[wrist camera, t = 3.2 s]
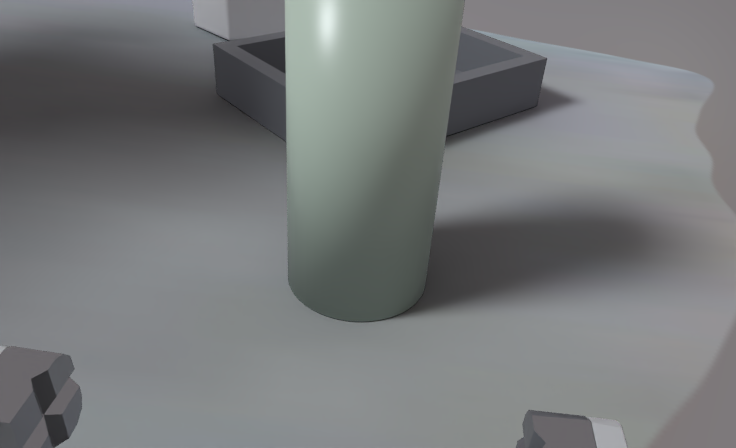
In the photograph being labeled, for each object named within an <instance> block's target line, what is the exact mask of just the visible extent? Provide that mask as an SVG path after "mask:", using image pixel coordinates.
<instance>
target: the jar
mask: <svg viewBox="0 0 736 448" xmlns="http://www.w3.org/2000/svg"><path fill="white" fill-rule="evenodd" d="M192 2H193V13H194V23H195V25H196V26H197V27H199V28H201V29H204V30H206V31H208V32H211V33H213V34H215V35H217V36H220V37H222V38H224V39H226V40H229V41H232V40H237V39H243V38H249V37H255V36H260V35H266V34H272V33H278V32H283V31H285V0H192Z"/></svg>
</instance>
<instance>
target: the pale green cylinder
mask: <svg viewBox="0 0 736 448" xmlns="http://www.w3.org/2000/svg"><path fill="white" fill-rule="evenodd" d="M464 3H465V0H285V61H286V145H287V230H288V281H289V285H290V287H291V290H292V291H293V293H294V295H295V296H296V297H297V298H298V299H299V300H300V301H301V302H302V303H303V304H304V305H306V306H307V307H309V308H310V309H312V310H314V311H316V312H318V313H320V314H322V315H325V316H328V317H331V318H335V319H339V320H345V321H355V322H368V321H377V320H382V319H387V318H390V317H393V316H396V315H398V314H401V313H403V312H404V311H406V310H408V309H409V308H411V307H412V306H413V305H414V304H415V303H416V302H417V301H418V300H419V299H420V297H421V296H422V294H423V292H424V289H425V284H426V277H427V270H428V263H429V255H430V248H431V241H432V234H433V227H434V219H435V212H436V205H437V198H438V191H439V184H440V176H441V169H442V162H443V155H444V148H445V140H446V133H447V126H448V119H449V112H450V105H451V97H452V90H453V83H454V76H455V69H456V61H457V54H458V47H459V40H460V33H461V25H462V18H463V10H464Z"/></svg>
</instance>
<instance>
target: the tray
mask: <svg viewBox="0 0 736 448" xmlns="http://www.w3.org/2000/svg"><path fill="white" fill-rule="evenodd" d="M213 51H214V64H215V77H216V89H217V94H218V95H220V96H221V97H222V98H224V99H225V100H227V101H228V102H230V103H231V104H233V105H234V106H235V107H237V108H238V109H240V110H241V111H243V112H244V113H246V114H247V115H248V116H250V117H251V118H253V119H254V120H256V121H257V122H259V123H260V124H261V125H263V126H264V127H266V128H267V129H269V130H270V131H272V132H273V133H274V134H276V135H277V136H279V137H280V138H282V139H283V140H285V141H286V61H285V31H283V32H278V33H272V34H266V35H260V36H255V37H249V38H243V39H237V40H232V41H226V42H220V43H214V44H213ZM546 61H547V58H545V57H543V56H540V55H537V54H535V53H532V52H529V51H527V50H524V49H521V48H518V47H516V46H513V45H510V44H508V43H505V42H502V41H500V40H497V39H494V38H491V37H489V36H486V35H483V34H481V33H478V32H475V31H472V30H470V29H467V28H464V27H462V26H461V33H460V40H459V47H458V54H457V61H456V69H455V76H454V83H453V90H452V97H451V105H450V112H449V119H448V126H447V133H446V136H448V135H451V134H454V133H457V132H460V131H463V130H466V129H469V128H472V127H475V126H478V125H481V124H484V123H487V122H490V121H493V120H496V119H499V118H502V117H505V116H508V115H511V114H514V113H517V112H520V111H523V110H526V109H529V108H532V107H535V106H537V103H538V98H539V93H540V89H541V84H542V80H543V75H544V70H545V66H546Z"/></svg>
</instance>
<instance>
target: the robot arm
mask: <svg viewBox="0 0 736 448" xmlns="http://www.w3.org/2000/svg"><path fill="white" fill-rule="evenodd" d="M74 369H75V368H74V366H73V363H72V360H71V357H70V356H69V355H66V354H61V353H54V352H47V351H40V350H34V349H27V348H20V347H14V346H5V345H0V448H55V447H56V446H58V445H59V444H61V443H62V442H64V441H65V440H67V439H69V437H70V436H71V434H72V432H73V431H74V429H75V427H76V425H77V423H78V419H79V416H80V413H81V409H82V394H81V390H80V386H79V385H78V384H77V383H75V382H74V381H73V380H72V379H71V378H70V375H71V374H72V372H73V371H74ZM522 425H523V434H524V437H523V438H521V439H520V440H518V441H517V445H516V448H628V446H627V443H626V439H625V436H624V432H623V429H622V425H621V424H620V423H619V422H618V420H610V419H602V418H594V417H585V416H580V415H570V414H561V413H552V412H543V411H534V410H528V411H527V413H526V414H525V417H524V421H523V424H522Z"/></svg>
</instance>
